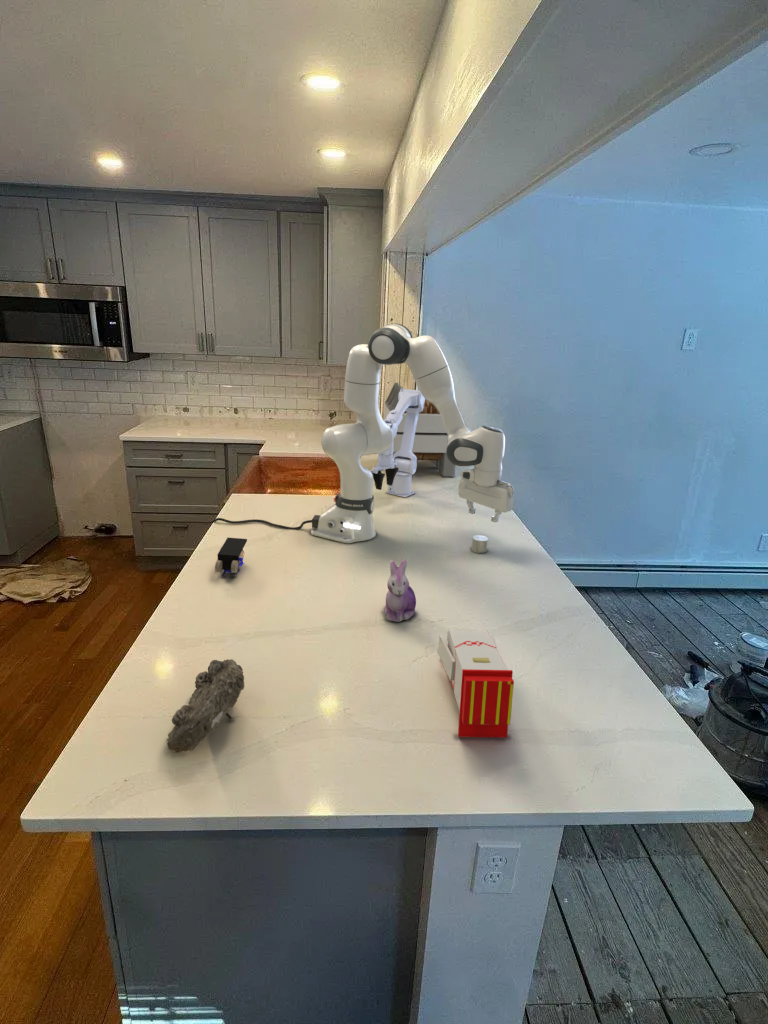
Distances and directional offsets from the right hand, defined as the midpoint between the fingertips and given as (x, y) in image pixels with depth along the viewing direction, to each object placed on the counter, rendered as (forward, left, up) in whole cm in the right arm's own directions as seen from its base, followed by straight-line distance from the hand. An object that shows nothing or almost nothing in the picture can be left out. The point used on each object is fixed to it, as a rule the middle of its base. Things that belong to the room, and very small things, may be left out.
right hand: (384, 487), depth 224 cm
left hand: (+50, -15, +4) cm, 52 cm away
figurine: (+52, -67, -8) cm, 85 cm away
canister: (+49, -15, -8) cm, 52 cm away
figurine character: (-1, -77, -8) cm, 77 cm away
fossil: (+45, -122, -8) cm, 130 cm away
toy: (+81, -85, -8) cm, 117 cm away
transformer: (-21, +59, -8) cm, 63 cm away
